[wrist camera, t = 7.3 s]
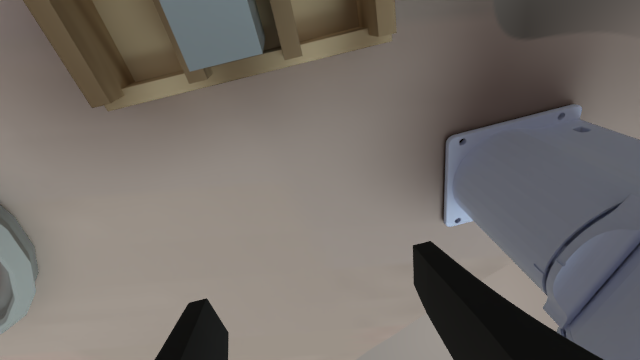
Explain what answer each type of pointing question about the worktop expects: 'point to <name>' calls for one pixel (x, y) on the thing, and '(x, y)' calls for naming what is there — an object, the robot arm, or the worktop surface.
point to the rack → (165, 55)
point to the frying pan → (15, 271)
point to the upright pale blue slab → (215, 30)
